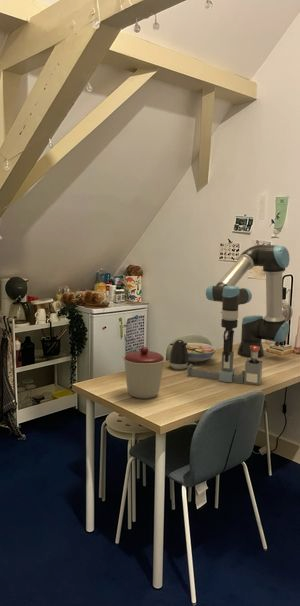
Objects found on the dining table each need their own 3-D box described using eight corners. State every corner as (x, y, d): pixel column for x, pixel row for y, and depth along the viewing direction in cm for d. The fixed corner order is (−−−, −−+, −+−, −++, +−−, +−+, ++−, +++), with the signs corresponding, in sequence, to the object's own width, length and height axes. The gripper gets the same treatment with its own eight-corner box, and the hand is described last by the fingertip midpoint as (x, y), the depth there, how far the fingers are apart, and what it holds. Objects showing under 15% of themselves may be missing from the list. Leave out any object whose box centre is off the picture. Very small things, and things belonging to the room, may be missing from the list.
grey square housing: (246, 379, 218) (247, 359, 217) (261, 380, 215) (262, 360, 214) (244, 383, 211) (245, 362, 210) (259, 385, 209) (260, 364, 207)
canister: (114, 392, 195) (114, 345, 192) (147, 384, 206) (148, 340, 203) (138, 405, 181) (139, 354, 178) (172, 396, 192) (174, 348, 189)
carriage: (222, 376, 220) (223, 349, 218) (234, 378, 218) (235, 351, 216) (218, 380, 213) (220, 353, 211) (231, 382, 211) (232, 354, 209)
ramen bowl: (226, 362, 246) (227, 347, 245) (197, 369, 232) (198, 354, 231) (193, 352, 265) (194, 339, 264) (165, 358, 251) (165, 344, 249)
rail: (190, 373, 225) (190, 363, 224) (244, 380, 215) (244, 370, 214) (187, 376, 220) (187, 366, 219) (242, 384, 210) (243, 373, 210)
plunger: (249, 359, 215) (250, 344, 214) (259, 361, 213) (260, 345, 212) (248, 362, 211) (249, 347, 210) (258, 363, 209) (259, 348, 208)
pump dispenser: (178, 372, 226) (179, 343, 224) (164, 367, 234) (165, 339, 232) (192, 368, 233) (193, 340, 231) (178, 364, 241) (179, 336, 238)
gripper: (225, 315, 220) (222, 362, 223) (218, 320, 205) (215, 370, 209) (240, 316, 217) (238, 364, 220) (234, 322, 203) (231, 372, 206)
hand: (227, 367), depth 215 cm, fingers closed on carriage, 2 cm apart
